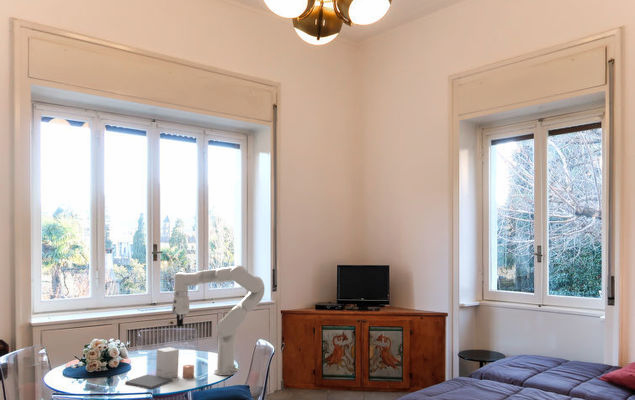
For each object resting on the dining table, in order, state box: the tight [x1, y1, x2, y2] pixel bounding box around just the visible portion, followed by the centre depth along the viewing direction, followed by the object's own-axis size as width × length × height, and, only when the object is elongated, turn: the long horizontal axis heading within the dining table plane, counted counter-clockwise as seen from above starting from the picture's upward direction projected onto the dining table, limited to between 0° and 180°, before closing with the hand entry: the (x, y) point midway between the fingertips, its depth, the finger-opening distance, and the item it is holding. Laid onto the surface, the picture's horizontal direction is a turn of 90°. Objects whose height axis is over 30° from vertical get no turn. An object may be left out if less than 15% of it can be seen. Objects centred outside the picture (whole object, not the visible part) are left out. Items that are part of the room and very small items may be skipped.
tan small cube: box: [182, 364, 195, 380], centre depth 291 cm, size 6×6×6 cm
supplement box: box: [155, 346, 180, 379], centre depth 292 cm, size 9×9×15 cm
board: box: [125, 373, 173, 390], centre depth 279 cm, size 18×16×1 cm
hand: (179, 325), depth 301 cm, fingers closed
